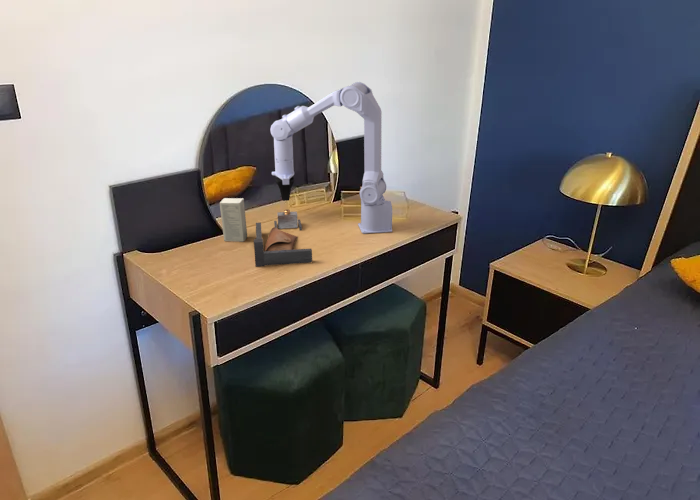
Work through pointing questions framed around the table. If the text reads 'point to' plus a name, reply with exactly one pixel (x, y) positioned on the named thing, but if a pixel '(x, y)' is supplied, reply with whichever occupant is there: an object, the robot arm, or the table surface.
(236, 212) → the skincare box
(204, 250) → the table surface
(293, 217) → the silver metal block
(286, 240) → the sunglasses case
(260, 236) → the press frame
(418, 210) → the table surface
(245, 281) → the table surface
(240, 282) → the table surface
